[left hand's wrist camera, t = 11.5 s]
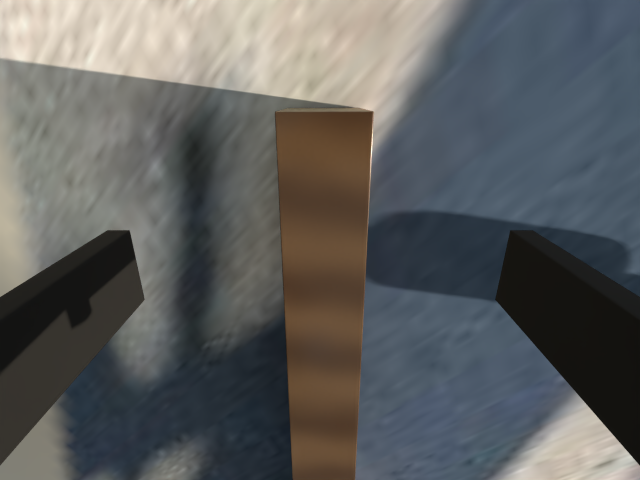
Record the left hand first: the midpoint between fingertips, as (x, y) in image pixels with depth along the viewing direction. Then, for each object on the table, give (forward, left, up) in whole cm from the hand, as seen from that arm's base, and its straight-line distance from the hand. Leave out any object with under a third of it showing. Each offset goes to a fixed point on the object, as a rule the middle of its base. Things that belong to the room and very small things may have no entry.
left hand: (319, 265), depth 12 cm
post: (+21, +24, -18) cm, 36 cm away
